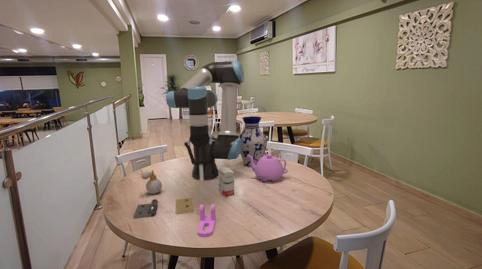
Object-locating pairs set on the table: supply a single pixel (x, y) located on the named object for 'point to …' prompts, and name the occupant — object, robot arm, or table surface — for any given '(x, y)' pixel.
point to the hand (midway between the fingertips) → (201, 179)
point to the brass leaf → (184, 206)
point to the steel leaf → (146, 209)
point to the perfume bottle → (152, 182)
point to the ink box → (226, 181)
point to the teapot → (268, 168)
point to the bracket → (206, 221)
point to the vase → (252, 140)
